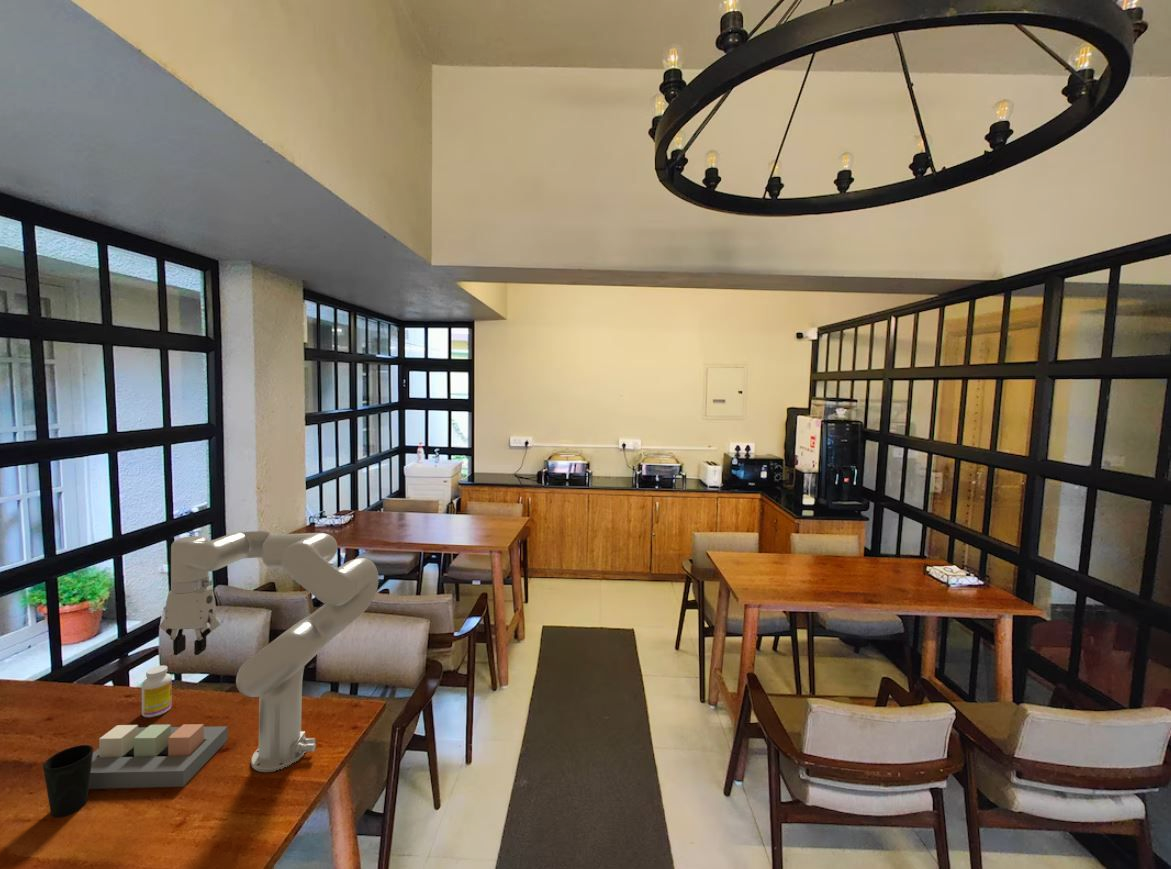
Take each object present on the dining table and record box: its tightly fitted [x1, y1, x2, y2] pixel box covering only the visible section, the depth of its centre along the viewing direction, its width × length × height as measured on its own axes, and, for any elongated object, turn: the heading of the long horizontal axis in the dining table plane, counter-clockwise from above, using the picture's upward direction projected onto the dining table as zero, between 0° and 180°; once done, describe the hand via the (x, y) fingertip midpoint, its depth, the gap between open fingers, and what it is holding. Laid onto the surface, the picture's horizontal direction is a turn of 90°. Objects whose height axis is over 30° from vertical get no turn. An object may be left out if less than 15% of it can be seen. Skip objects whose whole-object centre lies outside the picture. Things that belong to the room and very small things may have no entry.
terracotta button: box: [167, 723, 205, 756], centre depth 121 cm, size 5×5×5 cm
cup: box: [42, 744, 94, 819], centre depth 107 cm, size 8×8×12 cm
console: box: [88, 725, 229, 790], centre depth 121 cm, size 26×16×4 cm, turn 95°
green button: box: [133, 724, 172, 757], centre depth 121 cm, size 5×5×5 cm
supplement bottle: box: [141, 665, 173, 718], centre depth 140 cm, size 7×7×13 cm
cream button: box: [98, 724, 139, 757], centre depth 120 cm, size 5×5×5 cm
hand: (189, 651), depth 124 cm, fingers open, 4 cm apart
